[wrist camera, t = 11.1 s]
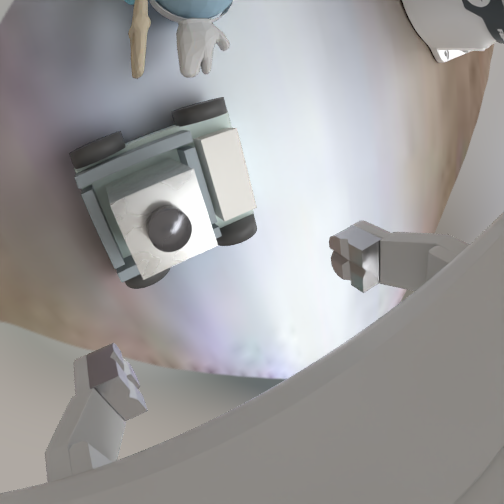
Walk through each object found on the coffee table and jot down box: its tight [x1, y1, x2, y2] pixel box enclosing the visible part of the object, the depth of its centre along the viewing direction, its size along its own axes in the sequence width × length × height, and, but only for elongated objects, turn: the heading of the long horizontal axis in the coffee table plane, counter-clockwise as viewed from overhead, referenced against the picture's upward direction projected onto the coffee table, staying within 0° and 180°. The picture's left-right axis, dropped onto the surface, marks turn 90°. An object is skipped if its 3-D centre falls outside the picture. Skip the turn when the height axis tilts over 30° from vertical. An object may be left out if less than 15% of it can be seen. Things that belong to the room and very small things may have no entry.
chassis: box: [69, 97, 257, 289], centre depth 23 cm, size 12×11×4 cm
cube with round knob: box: [105, 158, 218, 280], centre depth 20 cm, size 5×5×7 cm
